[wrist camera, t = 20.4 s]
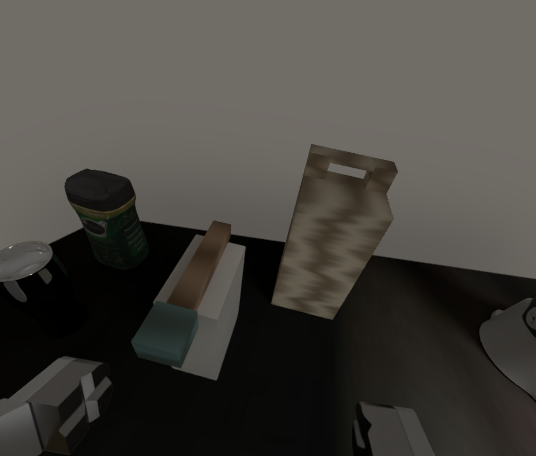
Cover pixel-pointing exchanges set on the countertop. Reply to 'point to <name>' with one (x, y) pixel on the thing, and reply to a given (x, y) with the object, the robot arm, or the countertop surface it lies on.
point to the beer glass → (41, 288)
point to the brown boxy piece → (332, 231)
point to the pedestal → (211, 309)
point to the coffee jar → (108, 217)
